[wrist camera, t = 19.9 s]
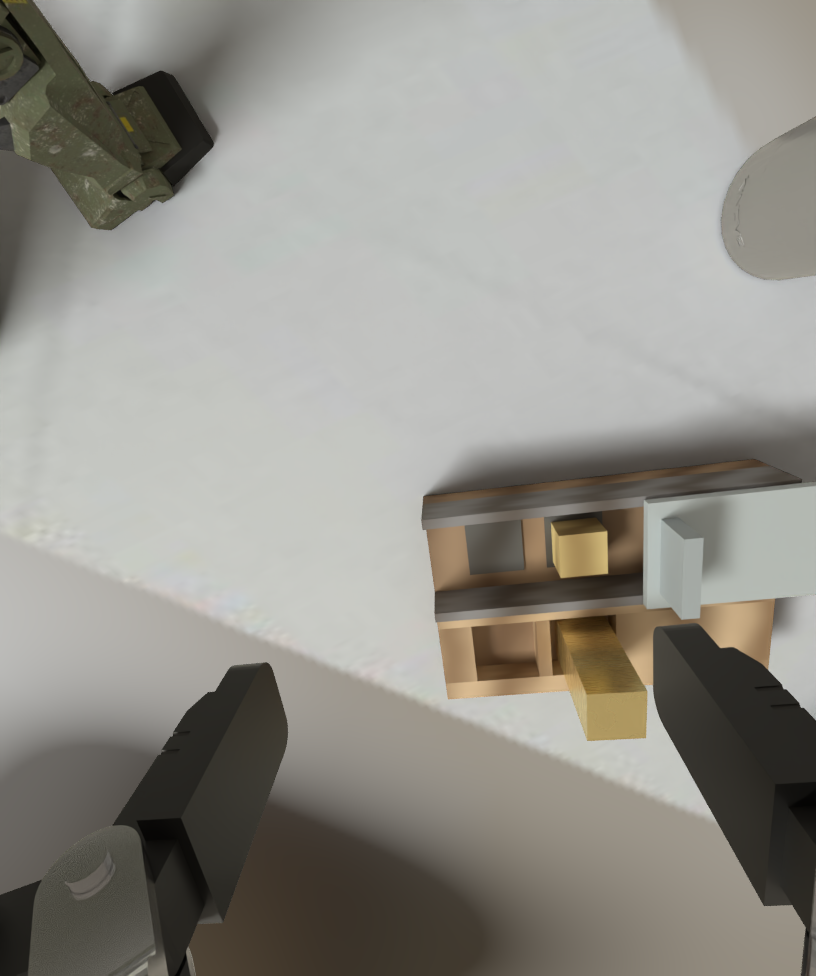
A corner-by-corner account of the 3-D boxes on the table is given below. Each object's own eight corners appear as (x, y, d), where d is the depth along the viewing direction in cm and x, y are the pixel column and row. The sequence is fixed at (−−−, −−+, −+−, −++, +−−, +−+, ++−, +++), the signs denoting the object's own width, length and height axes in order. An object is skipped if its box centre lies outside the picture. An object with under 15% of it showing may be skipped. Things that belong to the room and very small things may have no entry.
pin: (601, 648, 44) (645, 737, 35) (555, 652, 44) (587, 740, 35) (601, 610, 43) (647, 691, 33) (554, 613, 43) (586, 694, 34)
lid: (821, 480, 34) (873, 501, 30) (808, 589, 37) (854, 622, 33) (643, 500, 36) (670, 522, 32) (643, 603, 38) (667, 636, 34)
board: (754, 459, 40) (801, 479, 35) (739, 647, 45) (779, 688, 40) (423, 496, 43) (421, 520, 37) (447, 669, 48) (448, 711, 43)
